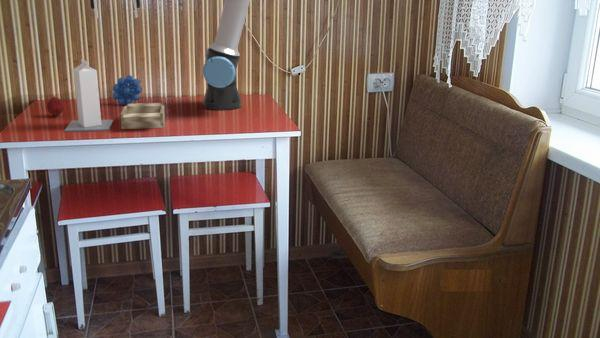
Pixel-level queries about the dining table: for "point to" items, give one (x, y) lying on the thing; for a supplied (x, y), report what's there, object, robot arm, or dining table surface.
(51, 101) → the onion
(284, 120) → the dining table surface
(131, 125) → the crate
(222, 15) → the robot arm
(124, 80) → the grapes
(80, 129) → the plate
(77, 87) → the milk
